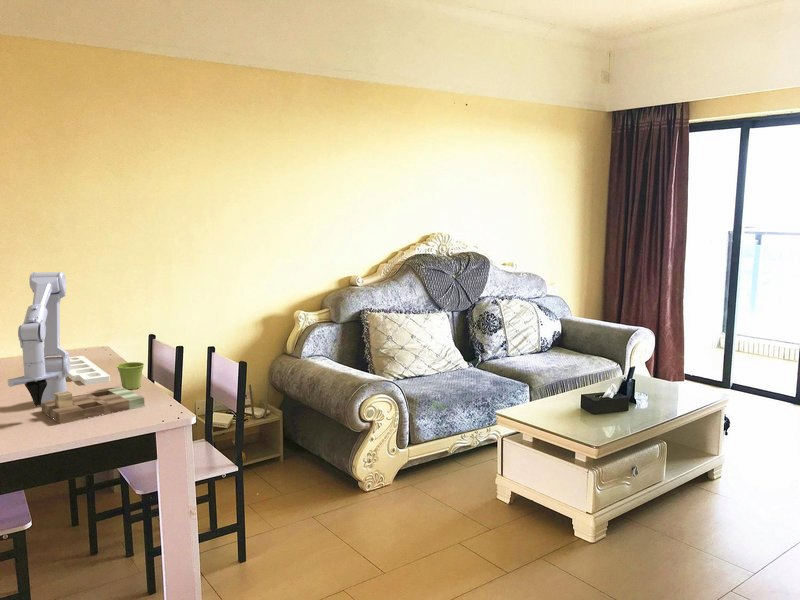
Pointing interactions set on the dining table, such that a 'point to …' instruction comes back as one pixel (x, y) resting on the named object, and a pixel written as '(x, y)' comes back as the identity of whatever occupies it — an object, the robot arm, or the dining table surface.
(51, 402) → the trap board
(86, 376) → the holder
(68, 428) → the dining table surface
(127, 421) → the dining table surface
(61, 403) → the maple block
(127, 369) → the plant pot
